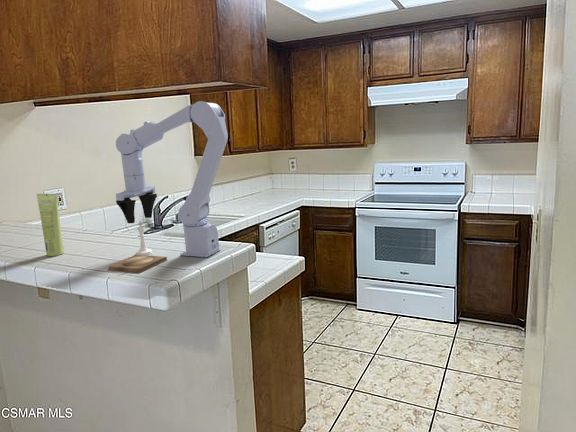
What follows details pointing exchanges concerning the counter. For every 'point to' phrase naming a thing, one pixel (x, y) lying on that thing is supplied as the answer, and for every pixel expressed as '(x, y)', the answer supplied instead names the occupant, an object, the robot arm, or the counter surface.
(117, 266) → the pedestal
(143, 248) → the chess piece
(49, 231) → the tube
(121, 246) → the counter surface
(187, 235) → the robot arm
